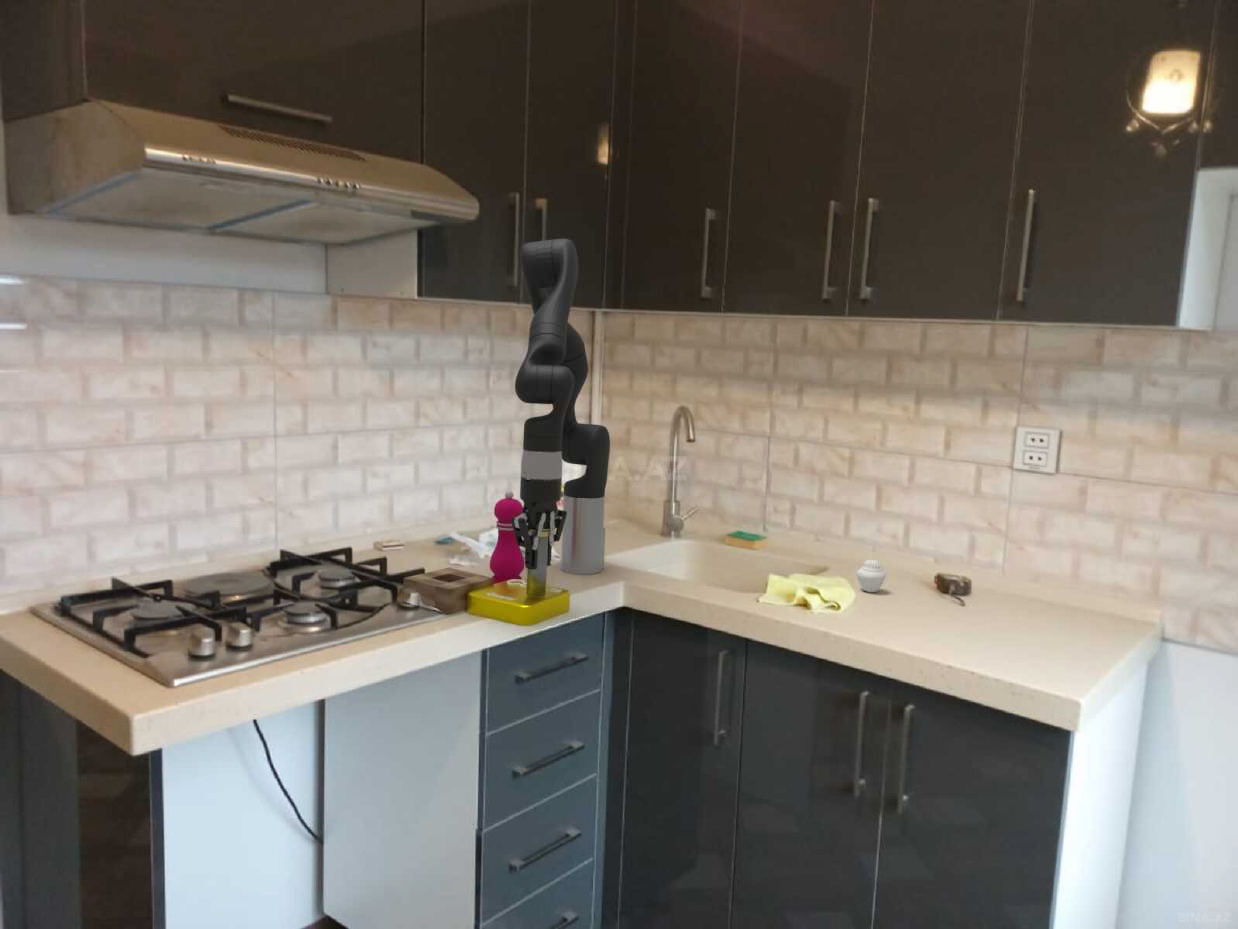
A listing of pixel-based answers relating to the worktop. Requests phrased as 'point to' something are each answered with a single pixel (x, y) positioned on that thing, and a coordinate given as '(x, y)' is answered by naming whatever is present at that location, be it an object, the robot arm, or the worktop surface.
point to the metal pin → (539, 568)
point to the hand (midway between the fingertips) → (537, 566)
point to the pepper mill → (506, 542)
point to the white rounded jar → (871, 576)
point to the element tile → (517, 603)
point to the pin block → (446, 588)
